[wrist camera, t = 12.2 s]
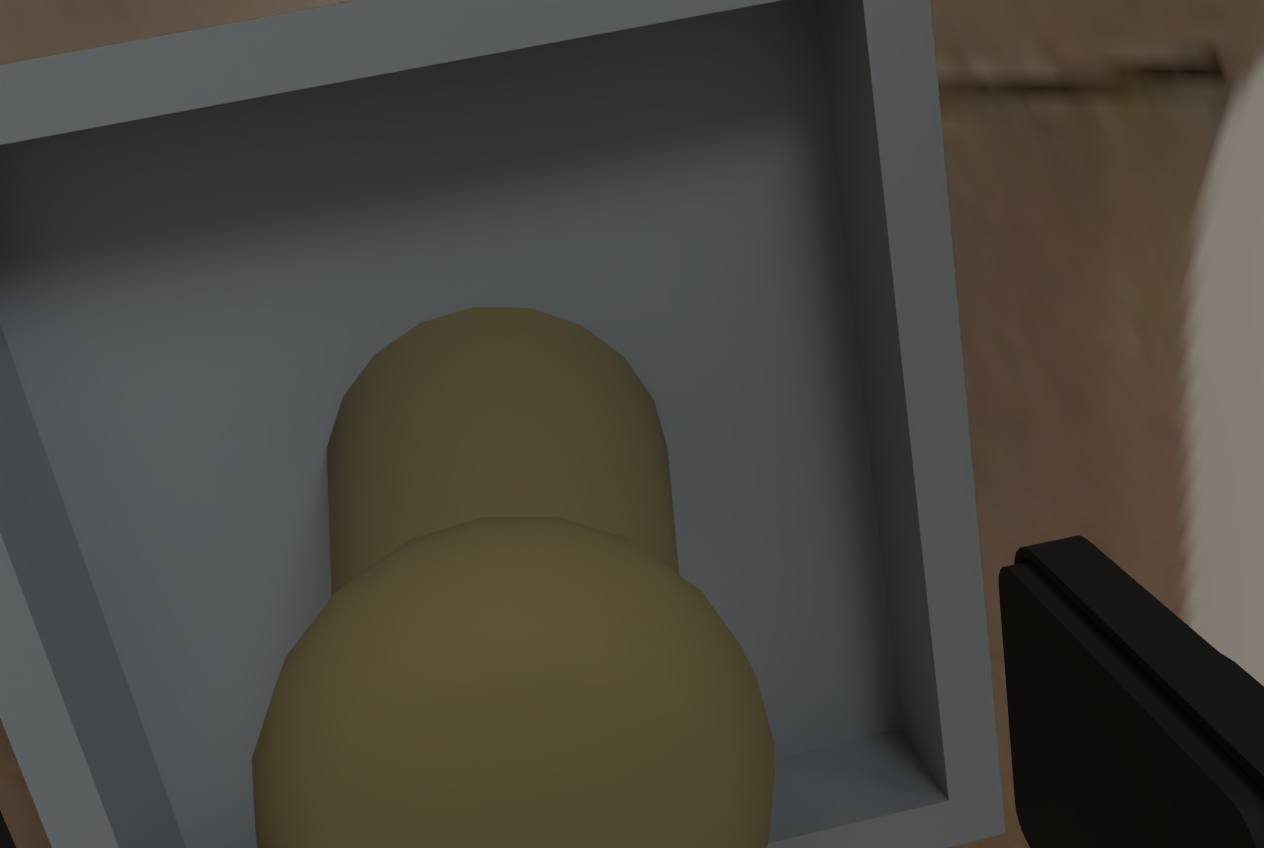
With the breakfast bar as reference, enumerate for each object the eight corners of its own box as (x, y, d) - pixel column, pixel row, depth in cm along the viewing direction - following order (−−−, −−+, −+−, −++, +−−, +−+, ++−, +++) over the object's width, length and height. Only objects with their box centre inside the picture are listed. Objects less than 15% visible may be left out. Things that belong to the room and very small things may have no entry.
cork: (631, 646, 22) (774, 1168, 12) (304, 605, 21) (134, 1140, 10) (700, 337, 20) (937, 619, 10) (350, 276, 19) (204, 518, 9)
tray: (855, -77, 19) (921, -102, 16) (943, 744, 24) (1005, 833, 21) (-131, 102, 18) (-243, 108, 15) (172, 924, 23) (129, 1043, 20)
